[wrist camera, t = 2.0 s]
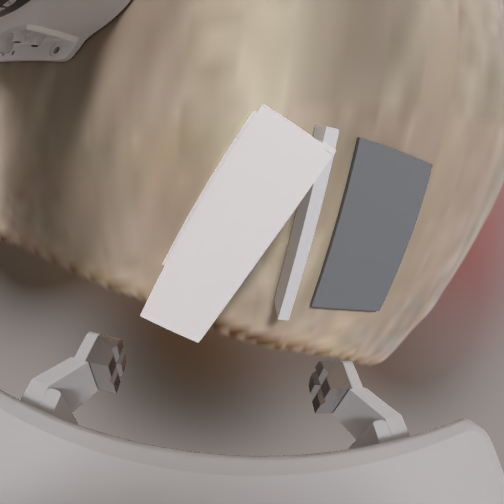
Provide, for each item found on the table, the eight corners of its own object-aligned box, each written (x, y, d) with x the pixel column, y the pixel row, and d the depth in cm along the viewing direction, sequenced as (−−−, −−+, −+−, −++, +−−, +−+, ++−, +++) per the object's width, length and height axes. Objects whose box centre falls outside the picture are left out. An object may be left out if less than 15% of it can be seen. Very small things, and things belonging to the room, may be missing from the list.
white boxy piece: (254, 108, 24) (264, 100, 15) (303, 140, 25) (336, 150, 17) (158, 271, 30) (135, 325, 22) (201, 292, 32) (192, 351, 24)
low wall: (274, 300, 33) (277, 319, 30) (315, 125, 24) (326, 126, 21) (283, 301, 33) (288, 320, 30) (326, 128, 24) (339, 129, 21)
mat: (310, 303, 33) (311, 306, 33) (357, 137, 25) (360, 137, 24) (377, 308, 35) (379, 311, 34) (429, 163, 26) (432, 164, 26)
